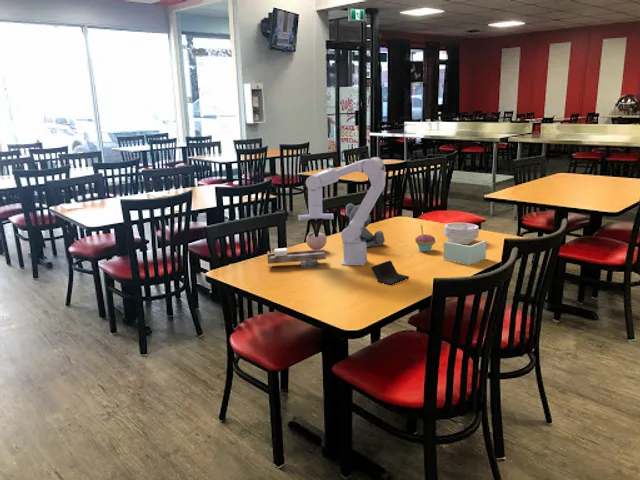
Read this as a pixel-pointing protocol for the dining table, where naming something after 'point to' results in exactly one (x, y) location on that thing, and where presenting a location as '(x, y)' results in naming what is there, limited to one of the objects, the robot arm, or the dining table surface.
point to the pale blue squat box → (465, 252)
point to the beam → (297, 256)
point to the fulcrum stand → (309, 263)
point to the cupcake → (425, 241)
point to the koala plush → (365, 235)
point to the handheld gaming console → (387, 273)
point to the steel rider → (280, 252)
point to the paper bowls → (461, 232)
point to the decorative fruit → (316, 240)
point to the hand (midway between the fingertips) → (316, 236)
